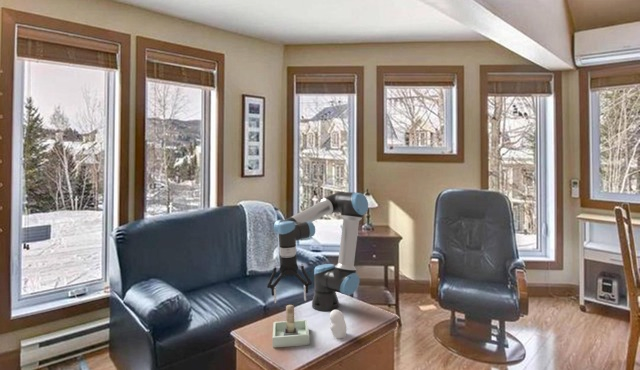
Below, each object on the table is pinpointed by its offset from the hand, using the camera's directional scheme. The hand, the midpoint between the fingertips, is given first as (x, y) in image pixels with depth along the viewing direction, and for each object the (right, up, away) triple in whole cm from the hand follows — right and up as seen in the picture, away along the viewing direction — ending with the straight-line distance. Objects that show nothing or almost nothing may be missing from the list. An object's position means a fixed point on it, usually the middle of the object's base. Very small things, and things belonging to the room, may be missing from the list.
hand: (290, 301), depth 168 cm
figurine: (+22, -17, +2) cm, 28 cm away
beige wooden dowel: (0, -16, +1) cm, 16 cm away
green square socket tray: (0, -17, +1) cm, 17 cm away
